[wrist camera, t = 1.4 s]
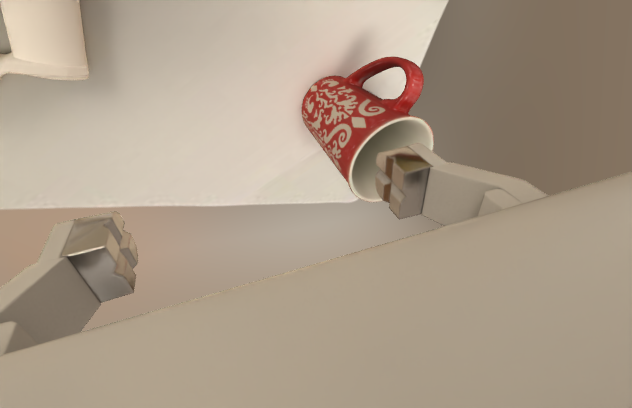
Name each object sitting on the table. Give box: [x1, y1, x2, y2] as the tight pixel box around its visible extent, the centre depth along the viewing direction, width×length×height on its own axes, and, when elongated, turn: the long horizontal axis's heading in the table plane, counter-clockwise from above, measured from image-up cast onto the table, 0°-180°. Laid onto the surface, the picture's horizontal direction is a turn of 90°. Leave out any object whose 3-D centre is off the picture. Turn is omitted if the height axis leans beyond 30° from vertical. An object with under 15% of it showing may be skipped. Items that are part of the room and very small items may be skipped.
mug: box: [302, 57, 434, 202], centre depth 35 cm, size 13×9×14 cm
